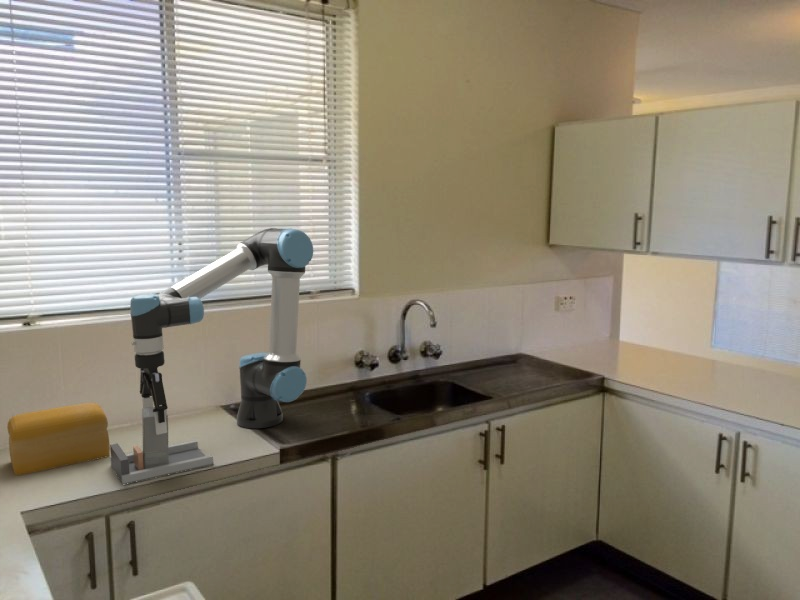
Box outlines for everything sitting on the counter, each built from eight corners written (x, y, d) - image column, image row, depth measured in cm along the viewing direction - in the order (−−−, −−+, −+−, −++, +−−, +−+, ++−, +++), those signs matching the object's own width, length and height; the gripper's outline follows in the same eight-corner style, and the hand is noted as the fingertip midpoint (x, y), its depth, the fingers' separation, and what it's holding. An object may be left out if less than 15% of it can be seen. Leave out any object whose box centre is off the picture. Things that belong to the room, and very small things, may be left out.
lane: (196, 447, 200) (195, 427, 199) (213, 464, 187) (212, 442, 186) (111, 465, 187) (109, 443, 186) (123, 485, 174) (121, 461, 173)
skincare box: (142, 462, 189) (138, 408, 186) (169, 458, 191) (165, 404, 189) (144, 473, 181) (140, 416, 179) (171, 468, 184) (168, 413, 181)
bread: (101, 443, 205) (98, 396, 203) (110, 456, 194) (107, 406, 192) (10, 462, 191) (5, 411, 189) (14, 476, 181) (9, 423, 179)
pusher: (138, 462, 186) (137, 445, 186) (143, 469, 182) (142, 452, 181) (134, 463, 186) (133, 446, 185) (139, 470, 181) (137, 453, 180)
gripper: (124, 345, 190) (131, 417, 193) (145, 362, 169) (152, 442, 173) (152, 342, 194) (157, 412, 197) (175, 358, 173) (181, 436, 177)
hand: (155, 426), depth 185 cm, fingers open, 13 cm apart
